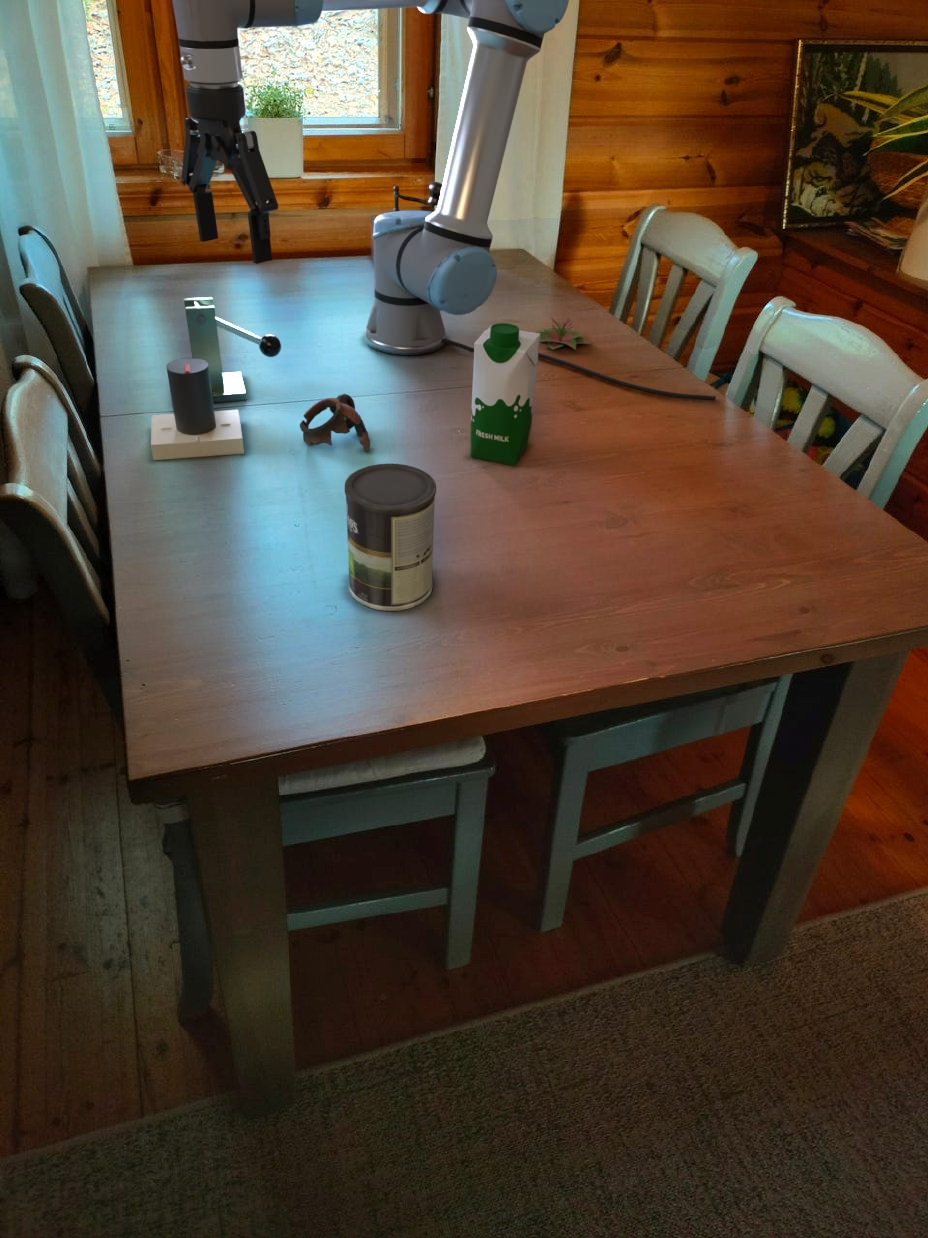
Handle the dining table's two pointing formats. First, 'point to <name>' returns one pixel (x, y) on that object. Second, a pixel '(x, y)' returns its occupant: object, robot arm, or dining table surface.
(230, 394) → the grey metal lever stand
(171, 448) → the panel
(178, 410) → the tap knob
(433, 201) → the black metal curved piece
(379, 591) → the coffee can
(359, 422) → the broken clay pot
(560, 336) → the lily flower
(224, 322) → the tap lever
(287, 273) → the dining table surface
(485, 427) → the milk carton
